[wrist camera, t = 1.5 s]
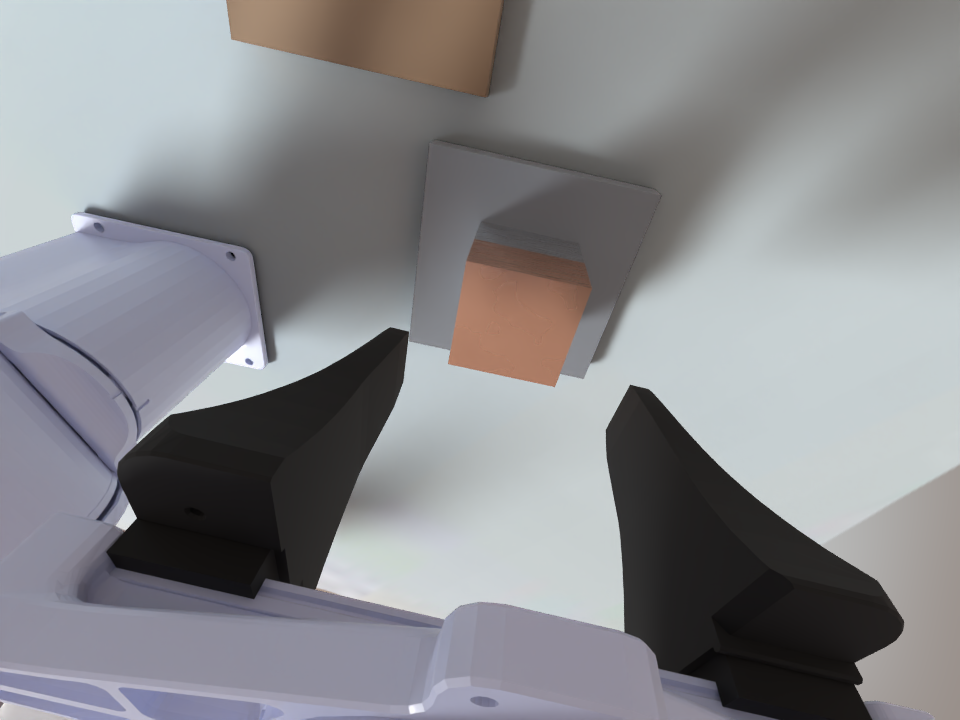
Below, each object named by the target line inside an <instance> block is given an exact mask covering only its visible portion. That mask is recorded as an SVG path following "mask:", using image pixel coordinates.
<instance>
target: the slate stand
mask: <svg viewBox="0 0 960 720" xmlns="http://www.w3.org/2000/svg"><path fill="white" fill-rule="evenodd" d="M661 196H662V195H661V194H660V193H658V192H657V191H656V190H655V189H652V188H647V187H643V186H638V185H634V184H629V183H625V182H621V181H616V180H612V179H607V178H603V177H598V176H594V175H590V174H585V173H581V172H576V171H572V170H568V169H563V168H559V167H554V166H550V165H545V164H541V163H537V162H532V161H528V160H523V159H519V158H514V157H510V156H506V155H501V154H497V153H492V152H488V151H483V150H479V149H475V148H470V147H466V146H461V145H457V144H453V143H448V142H444V141H439V140H433V141H432V142H430V143H429V151H428V161H427V171H426V181H425V190H424V200H423V210H422V220H421V230H420V239H419V249H418V259H417V269H416V279H415V288H414V298H413V308H412V318H411V328H410V337H409V341H410V342H415V343H420V344H424V345H429V346H434V347H438V348H443V349H447V350H451V345H452V339H453V333H454V328H455V322H456V316H457V310H458V305H459V299H460V293H461V288H462V282H463V276H464V271H465V265H466V260H467V257H468V255H469V252H470V249H471V246H472V244H473V241H474V238H475V236H476V233H477V230H478V227H479V225H480V222H486V223H490V224H495V225H499V226H504V227H508V228H513V229H517V230H522V231H526V232H531V233H535V234H540V235H544V236H549V237H553V238H558V239H562V240H567V241H571V242H576V243H579V246H580V249H581V253H582V256H583V259H584V263H585V266H586V269H587V273H588V276H589V280H590V283H591V286H592V290H591V293H590V296H589V298H588V301H587V304H586V306H585V309H584V312H583V314H582V317H581V319H580V322H579V325H578V327H577V330H576V333H575V335H574V338H573V340H572V343H571V346H570V348H569V351H568V354H567V356H566V359H565V362H564V364H563V367H562V369H561V372H560V374H563V375H568V376H573V377H577V378H582V379H584V377H585V374H586V372H587V369H588V367H589V365H590V362H591V360H592V358H593V355H594V353H595V351H596V348H597V346H598V344H599V341H600V339H601V337H602V334H603V332H604V330H605V327H606V325H607V323H608V320H609V318H610V316H611V313H612V311H613V308H614V306H615V304H616V301H617V299H618V297H619V294H620V292H621V290H622V287H623V285H624V283H625V280H626V278H627V276H628V273H629V271H630V269H631V266H632V264H633V262H634V259H635V257H636V254H637V252H638V250H639V247H640V245H641V243H642V240H643V238H644V236H645V233H646V231H647V229H648V226H649V224H650V222H651V219H652V217H653V215H654V212H655V210H656V208H657V205H658V203H659V200H660V198H661Z"/></svg>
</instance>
